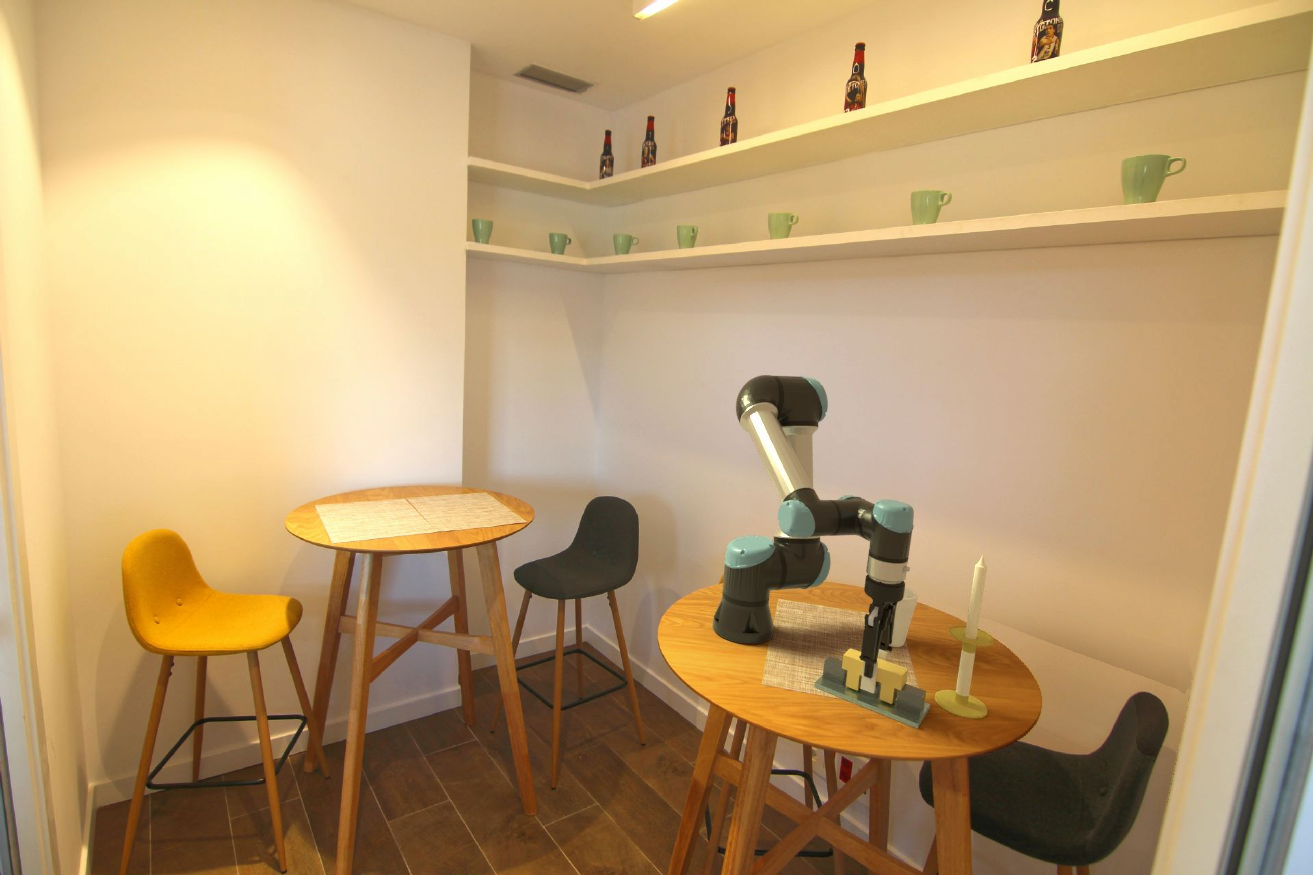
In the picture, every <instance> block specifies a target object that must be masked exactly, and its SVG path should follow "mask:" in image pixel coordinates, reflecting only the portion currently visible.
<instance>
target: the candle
mask: <svg viewBox="0 0 1313 875" xmlns="http://www.w3.org/2000/svg"><path fill="white" fill-rule="evenodd" d="M987 570H988V566H987V565H986V563H985V558H984V554H981V556H980V559H979V560H978V562H977V563H976V564H975V565H974V571H973V578H972V586H971V592H970V599H969V605H968V606H969V607H968V613H967V619H966V625H962V624H958V625H957V624H956V625H951V626H948V630H947V632H948V634H949V635H950V636H951V637H952V638H954V639H955V640H957V641H959V642H962V646H961V653H960V659H959V666H958V674H957V680H956V688H955V690H952V689H941V690H939V691H937V692H935V694H934V700H935V702H936V704H937V705H938V706H939V707H941V708H942V709H943V710H945V711H947V712H949V714H953V715H955V716H959V717H961V718H966V719H972V720H974V719H975V720H977V719H983V718H985V717H986V716H987V715H988V708H987V706H986V704H985V703H983V701H981V699H978V698H977V697H975V696H973V695H971V694H970V691H971V690H970V689H971V683H972V678H973V670H974V665H975V664H974V663H975V659H976V658H975V656H976V650H977V646H978V647H990V646H992V645H994V644H995V638H994V637H993V635H991V634H989V633H988V632H986V631H984V630H982V629H979V623H980V618H981V610H982V603H983V598H984V596H983V595H984V592H985V591H984V590H985V585H986V584H985V582H986V577H987Z"/></svg>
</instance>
